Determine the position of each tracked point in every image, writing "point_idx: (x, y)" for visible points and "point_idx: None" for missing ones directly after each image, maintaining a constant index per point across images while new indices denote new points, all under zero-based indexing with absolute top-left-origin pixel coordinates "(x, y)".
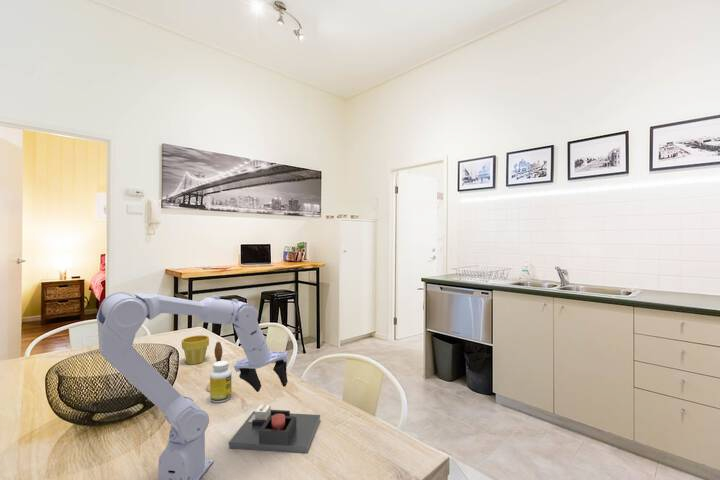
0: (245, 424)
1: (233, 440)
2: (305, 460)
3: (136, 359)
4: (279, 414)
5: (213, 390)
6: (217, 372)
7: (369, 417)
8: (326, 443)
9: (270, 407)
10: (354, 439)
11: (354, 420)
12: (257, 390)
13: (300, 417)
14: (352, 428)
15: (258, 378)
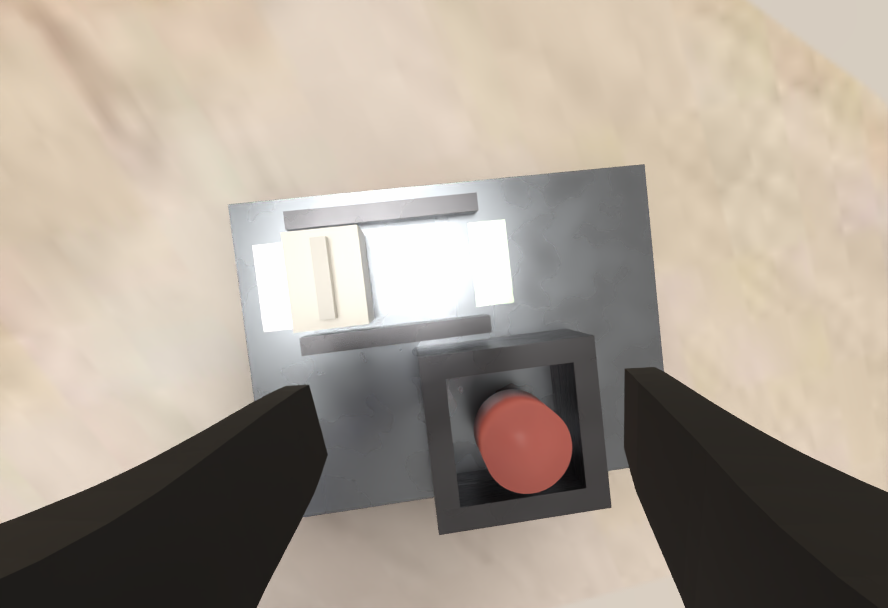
0: (263, 352)
1: None
2: None
3: None
4: (521, 417)
5: None
6: None
7: (868, 94)
8: (716, 361)
9: (359, 231)
10: (830, 302)
11: (800, 139)
12: (314, 477)
13: (544, 214)
14: (805, 214)
15: (246, 436)
